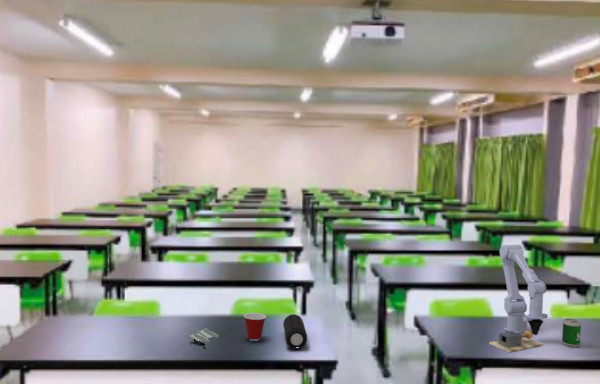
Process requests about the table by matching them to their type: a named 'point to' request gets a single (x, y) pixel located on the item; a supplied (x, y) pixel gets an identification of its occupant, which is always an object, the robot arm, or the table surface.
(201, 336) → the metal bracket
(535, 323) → the robot arm
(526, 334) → the shaft
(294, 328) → the portable speaker
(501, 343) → the bearing stand
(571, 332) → the soda can
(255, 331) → the plastic cup
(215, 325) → the table surface
